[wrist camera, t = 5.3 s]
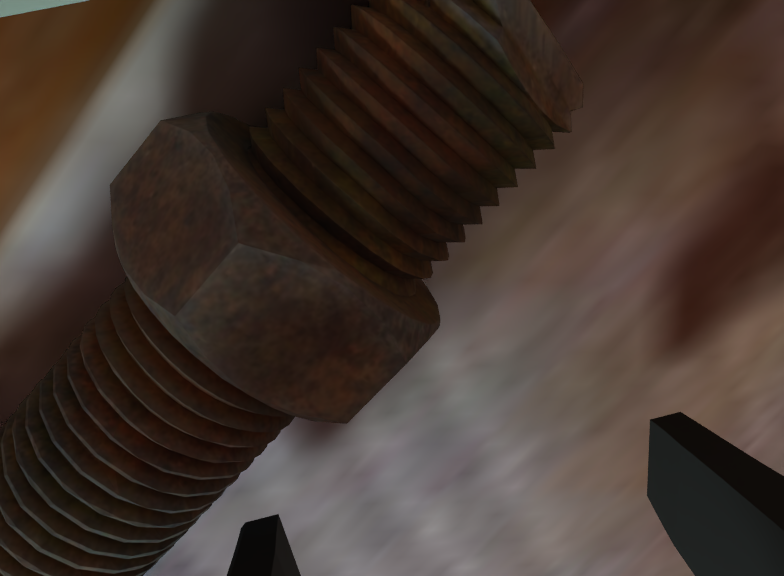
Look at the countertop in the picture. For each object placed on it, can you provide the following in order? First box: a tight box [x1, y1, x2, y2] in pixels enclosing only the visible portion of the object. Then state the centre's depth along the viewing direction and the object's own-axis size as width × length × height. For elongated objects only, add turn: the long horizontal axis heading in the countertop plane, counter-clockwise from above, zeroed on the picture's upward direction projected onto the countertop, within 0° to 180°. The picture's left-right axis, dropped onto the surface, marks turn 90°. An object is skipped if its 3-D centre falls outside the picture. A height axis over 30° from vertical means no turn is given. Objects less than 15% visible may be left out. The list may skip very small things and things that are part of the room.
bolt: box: [0, 0, 583, 576], centre depth 10 cm, size 6×5×15 cm
